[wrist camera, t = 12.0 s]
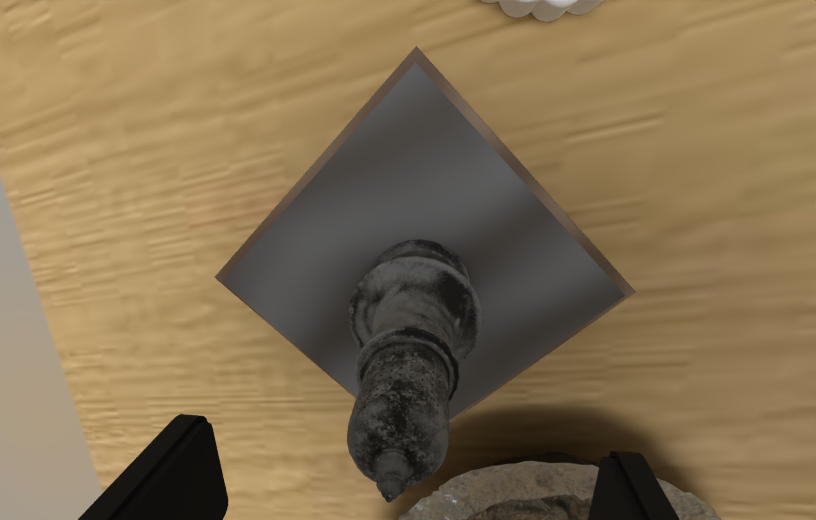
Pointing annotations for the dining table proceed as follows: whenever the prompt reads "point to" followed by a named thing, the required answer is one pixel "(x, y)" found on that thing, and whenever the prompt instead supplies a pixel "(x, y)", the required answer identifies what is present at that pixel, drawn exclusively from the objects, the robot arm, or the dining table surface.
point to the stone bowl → (533, 493)
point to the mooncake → (545, 7)
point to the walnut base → (424, 236)
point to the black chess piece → (409, 361)
